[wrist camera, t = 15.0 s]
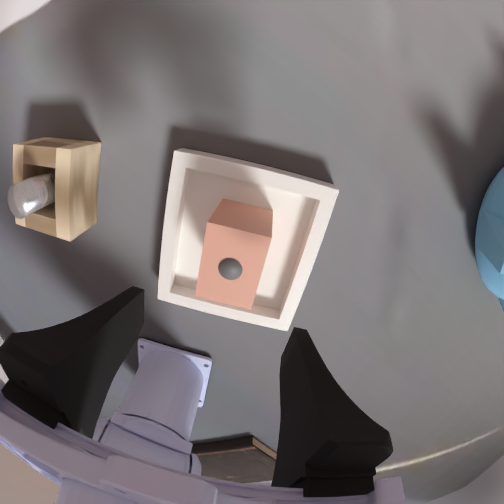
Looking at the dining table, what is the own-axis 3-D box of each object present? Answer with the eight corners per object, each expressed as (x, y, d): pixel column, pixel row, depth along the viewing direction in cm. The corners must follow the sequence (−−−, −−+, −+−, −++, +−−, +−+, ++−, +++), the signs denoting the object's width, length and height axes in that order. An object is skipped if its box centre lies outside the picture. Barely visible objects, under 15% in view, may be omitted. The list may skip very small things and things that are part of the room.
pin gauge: (78, 195, 21) (29, 221, 15) (58, 191, 21) (9, 216, 15) (78, 166, 20) (26, 185, 14) (58, 164, 20) (6, 182, 14)
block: (256, 270, 22) (251, 310, 18) (211, 259, 22) (194, 296, 18) (273, 210, 20) (271, 238, 16) (223, 198, 20) (206, 222, 16)
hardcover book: (299, 465, 40) (299, 475, 38) (201, 476, 47) (199, 485, 45) (252, 432, 35) (251, 445, 33) (147, 445, 42) (144, 454, 40)
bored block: (96, 223, 22) (70, 241, 19) (42, 208, 22) (15, 223, 18) (101, 142, 19) (71, 149, 16) (43, 137, 19) (13, 144, 15)
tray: (287, 317, 25) (287, 331, 23) (164, 287, 24) (157, 298, 23) (333, 184, 19) (339, 190, 18) (182, 147, 19) (174, 150, 18)
